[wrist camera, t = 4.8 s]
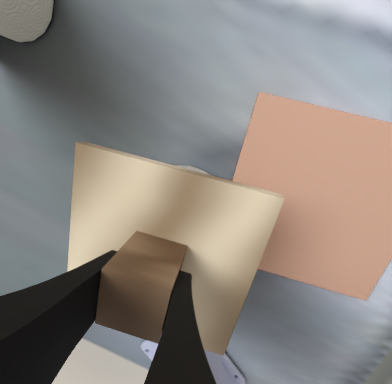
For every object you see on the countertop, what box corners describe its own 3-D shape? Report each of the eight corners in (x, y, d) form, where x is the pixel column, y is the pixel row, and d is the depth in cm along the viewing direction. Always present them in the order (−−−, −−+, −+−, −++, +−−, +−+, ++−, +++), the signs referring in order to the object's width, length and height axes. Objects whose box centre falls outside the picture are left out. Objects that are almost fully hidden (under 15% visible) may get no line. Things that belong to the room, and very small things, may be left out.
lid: (280, 193, 11) (311, 231, 7) (223, 344, 14) (221, 428, 10) (85, 141, 12) (10, 147, 8) (73, 295, 15) (16, 356, 11)
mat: (456, 139, 15) (462, 139, 14) (363, 297, 19) (366, 300, 19) (258, 92, 16) (259, 91, 15) (210, 252, 20) (210, 255, 20)
